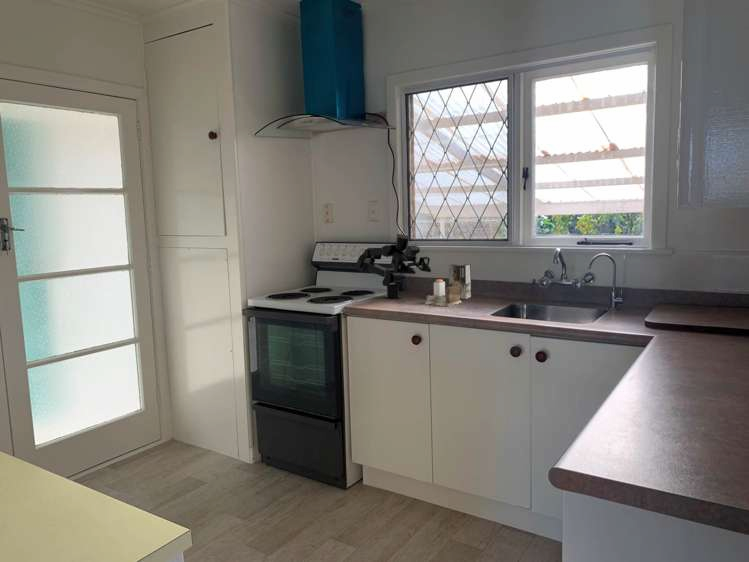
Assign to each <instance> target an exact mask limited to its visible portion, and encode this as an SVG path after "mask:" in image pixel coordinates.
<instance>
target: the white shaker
mask: <svg viewBox="0 0 749 562" xmlns="http://www.w3.org/2000/svg"><path fill="white" fill-rule="evenodd" d="M445 294H446V282H445V281H443V279H439V278H438V279H435V281H434V282H433V294H431V296H439V297H446V295H445Z"/></svg>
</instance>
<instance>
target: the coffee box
mask: <svg viewBox="0 0 749 562" xmlns="http://www.w3.org/2000/svg"><path fill="white" fill-rule="evenodd" d="M471 267H472V266H471V264H466V263H465V264H463V263H453V264H450V265H448V287H451V286H460V299H462V300H463V299H464V300H467V299H469V298H471V297H472V289H471V287H472V285H471V284H472V281H471V280H472V278H471V273H472V271H471Z"/></svg>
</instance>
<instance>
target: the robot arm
mask: <svg viewBox="0 0 749 562" xmlns="http://www.w3.org/2000/svg"><path fill="white" fill-rule="evenodd" d="M409 242H410V236H409V235H405V234H402V233H397V235H396V240H395V243H394V244H386V245H383V246H381V247H376V248H373V247H371V248H369V247H368V248H366V249H365V250H364V251H363V253H362V254H361V255H359V257H358V258H357V261H356V268H357V270H358V271H362V272H363V271H366V272H367V271H368V272H371V273H373V274H375V275H377V276H380V277H382V278H383V279H382V286H383V287H386V295H384V298H386V299H390V300H393V299H401V298H402V296H401V295H399V286H402V285H403V283H404V279H405V278H404V277H405V274H409V275H411V274H412V275H415V274H416V270H414V268H418V270H420V272H426V273H431V271H432V269H431V267H430V260H431V258H430V257H429V256H420V258H419V260H418V261H417V258H418V257H417V254H419V253H420V252H421V248H420V246H418V245H415V244H414V245H409ZM375 256H383V257H386V258H390V257H392V258H391V262H392V264H394V267H388V268H386V267H383V266H381V265H380V264H376V263H375V262H376V257H375ZM369 257H370V258H369Z"/></svg>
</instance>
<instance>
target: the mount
mask: <svg viewBox="0 0 749 562" xmlns="http://www.w3.org/2000/svg"><path fill="white" fill-rule="evenodd" d="M445 295H446V297H439V296H432V295H429V294H428V295H426V301H425V300H424V304H425V305H429V304H431V305H430V306H438V305H440V306H439V307H446V306H449V307H452V306H456V305H459V303H460V304H461V303H462V300H460V286H451V287H449V286H448V287H445ZM455 304H456V305H455Z"/></svg>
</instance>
